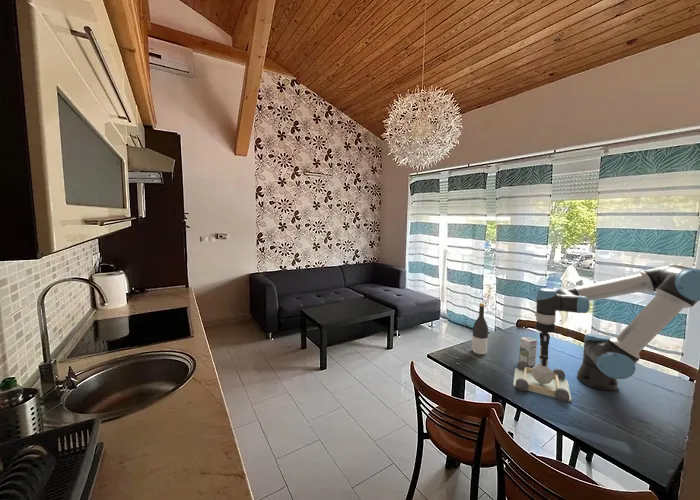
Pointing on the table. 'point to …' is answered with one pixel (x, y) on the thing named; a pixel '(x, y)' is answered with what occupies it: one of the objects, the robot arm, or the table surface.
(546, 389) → the chassis
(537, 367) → the die
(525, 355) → the syrup box
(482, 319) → the wine bottle
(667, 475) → the table surface
